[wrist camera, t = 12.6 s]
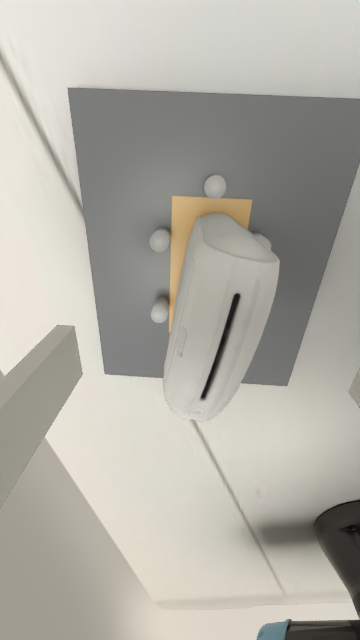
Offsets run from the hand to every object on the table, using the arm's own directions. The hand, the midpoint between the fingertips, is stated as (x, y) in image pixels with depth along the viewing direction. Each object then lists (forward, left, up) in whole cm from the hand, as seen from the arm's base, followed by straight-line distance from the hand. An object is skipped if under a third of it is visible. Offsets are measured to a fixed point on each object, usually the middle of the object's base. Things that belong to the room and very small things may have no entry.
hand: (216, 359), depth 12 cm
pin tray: (0, 0, -13) cm, 13 cm away
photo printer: (0, 0, -12) cm, 12 cm away
